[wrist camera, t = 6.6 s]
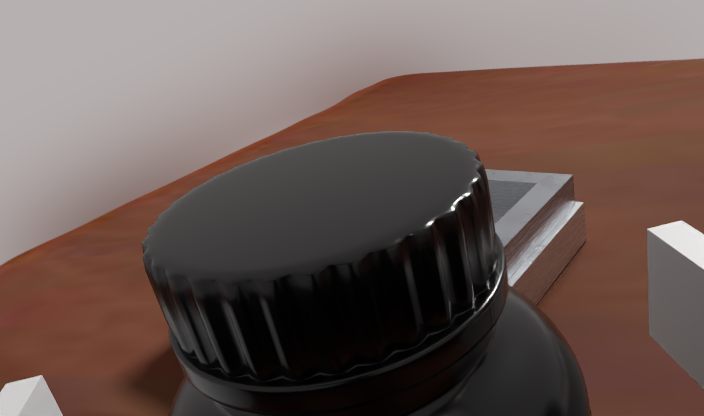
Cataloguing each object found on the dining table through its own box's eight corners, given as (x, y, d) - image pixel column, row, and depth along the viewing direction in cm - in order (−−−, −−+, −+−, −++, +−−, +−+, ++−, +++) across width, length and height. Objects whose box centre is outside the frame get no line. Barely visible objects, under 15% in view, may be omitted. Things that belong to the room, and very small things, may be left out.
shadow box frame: (361, 210, 38) (349, 158, 36) (586, 239, 29) (581, 172, 27) (182, 336, 28) (158, 273, 27) (432, 438, 19) (415, 351, 18)
